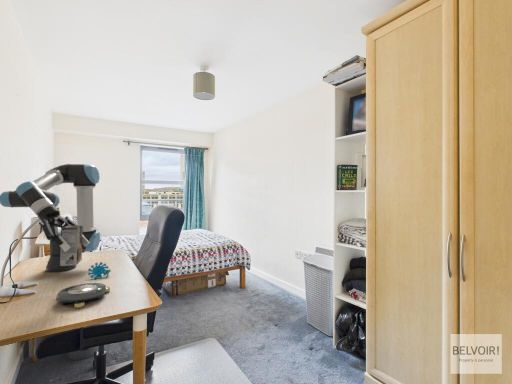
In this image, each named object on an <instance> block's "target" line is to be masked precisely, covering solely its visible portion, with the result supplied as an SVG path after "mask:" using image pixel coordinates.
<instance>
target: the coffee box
mask: <svg viewBox="0 0 512 384" xmlns="http://www.w3.org/2000/svg"><path fill="white" fill-rule="evenodd" d="M60 231H61V237H62V238H63V239H64V240H65V241H66V242H67V243H68V245H69V246H70V247H71V248H70V249H69V250H68V251H67V252H65V251H64V250H63V249H62V248H61V251H60V266H68V265H76V266H77V265H79V263H80V262H82V259H83V251H82V226H76V225H71V226H65V227H63V228H60Z"/></svg>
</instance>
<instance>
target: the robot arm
mask: <svg viewBox="0 0 512 384" xmlns="http://www.w3.org/2000/svg"><path fill="white" fill-rule="evenodd" d="M99 182H100V172H99V169H97V167H96V166H95V165H94V164H88V163H87V164H81V163H79V164H78V163H77V164H76V163H74V164H73V163H72V164H71V163H66V164H61V165H58V166H55V167H53V168H51V169H48V170H47V171H46V172H45V174H44V175H42V176H40V177H38V178H36V179H34V180H33V181H30V180H29V181H25V182H23V183H21V184H19V185H18V186H17V187H16V190H14V191H11V190H8V191H7V190H6V191H3V192H1V194H0V205H1V206H2V207H4V208H30V209H31V211H32V212H33V213H34V214H35V215H36V216H37V218H39V220H40V221H39V222H38V224H39V226H41V228H42V231H43V232H44V235H45V237H46V239H47V240H48V241H49V257H48V258H49V259H48V261H47V264H46V267H45V271H46V272H49V273H51V272H52V273H57V272H65V271H69V270H73V269H76V267H77V265H68V266H60V251H61V248H62V249H63V250H64V251H65V252H67V251H68V250H69V249H70V248H71V247H70V246H69V245H68V243H67V242H66V241H65V240H64V239H63V238H62V237H61V230H58V228H60V229H61V228H63V227H65V226H71V225H76V226H82V252H93V251H95V250H97V248H98V247H99V244H100V242H101V233H100V232H98V231H97V228H96V227H95V226H94V188H96V184H98V183H99ZM61 184H73V185H72V186H73V188H75V189H76V221H77V222H76V223H77V224H76V223H75V222H74V221H73V220H72V219H70V217H69V216H65V217H63V216H61V211H60V209H58V208H57V206H59V204H60V197H59V196H58V195H57V194H55V193H54V192H50V191H48V190H50V189H51V188H53V187H55V186H59V185H61Z"/></svg>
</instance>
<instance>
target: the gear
mask: <svg viewBox="0 0 512 384" xmlns="http://www.w3.org/2000/svg"><path fill="white" fill-rule="evenodd" d="M94 265H95V266H94ZM90 267H91V268H92V269H91V268H88V269H87V271H88V273H87V274H88V275H89V276H90V278H91V279H93V278H94V279H95V280H97V279H98V277H99V279H103V277H105V276H109V274H110V272H112V271H111V268H109V266H108V265H107V263H105V262H104V263H103V262H102V261H101V262H99V263H98V262H96V263H94V264H92V265H90ZM102 275H103V277H102Z"/></svg>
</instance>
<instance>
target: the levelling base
mask: <svg viewBox="0 0 512 384" xmlns="http://www.w3.org/2000/svg"><path fill="white" fill-rule="evenodd" d="M110 292H111V287H110V286H107V285H106V284H104V283H100V282H87V283H80V284H75V285H72V286H68V287H66V288H63V289H60V291H59V292H58V293H57V294H56V297H55V299H56V300H57V301H59V302H61V306H67V305H70V304H71V303H74V304H73V306H74V310H82V309H83V308H85V307H86V302H87V301H89V300H92V301H100V300H101V298H102V296H103V295H105V294H107V293H110ZM85 301H86V302H85Z"/></svg>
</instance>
